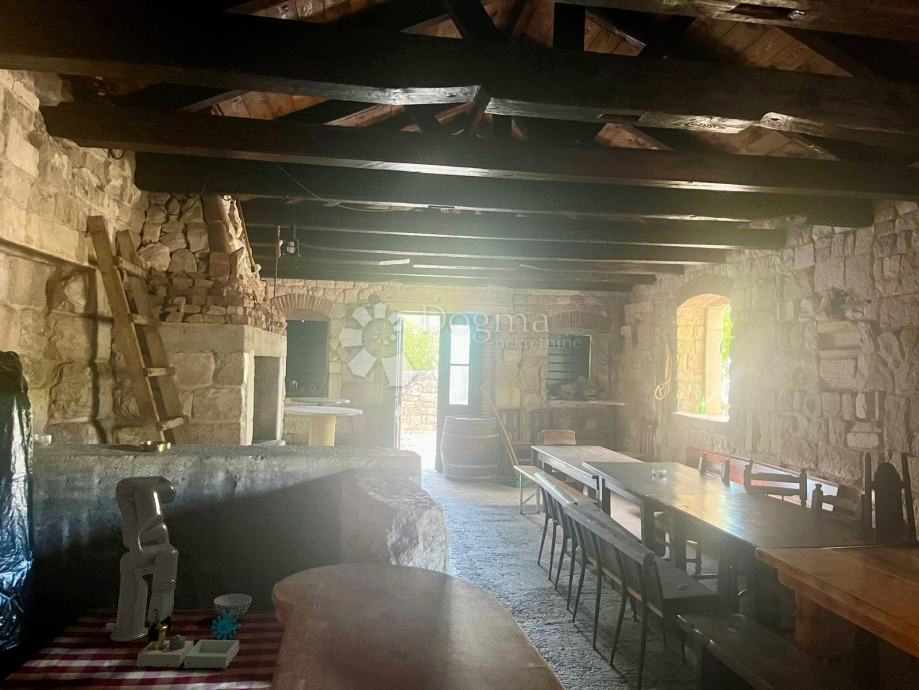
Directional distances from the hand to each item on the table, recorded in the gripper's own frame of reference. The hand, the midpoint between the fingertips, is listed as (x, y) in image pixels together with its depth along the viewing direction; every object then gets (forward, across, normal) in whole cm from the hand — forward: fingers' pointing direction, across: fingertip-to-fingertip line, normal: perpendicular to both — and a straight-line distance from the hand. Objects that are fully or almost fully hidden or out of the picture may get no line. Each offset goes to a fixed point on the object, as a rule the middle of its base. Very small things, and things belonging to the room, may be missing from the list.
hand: (159, 635), depth 203 cm
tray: (+8, -1, +18) cm, 20 cm away
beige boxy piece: (+8, -1, +2) cm, 8 cm away
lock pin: (+8, -1, 0) cm, 8 cm away
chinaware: (+8, -41, +12) cm, 43 cm away
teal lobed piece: (+8, -21, +16) cm, 28 cm away
